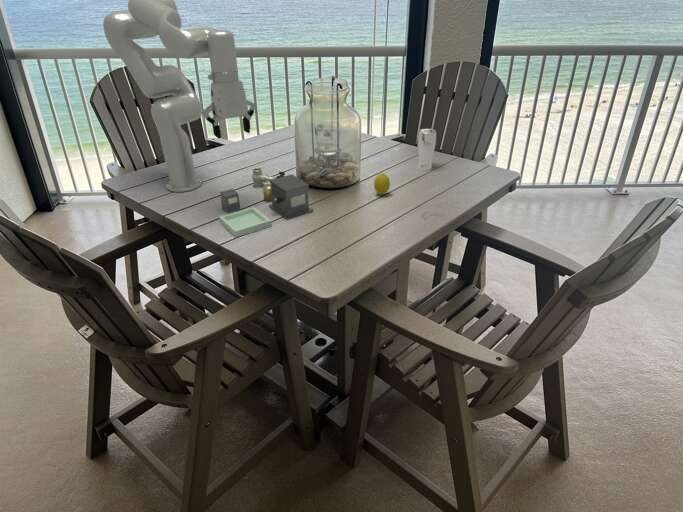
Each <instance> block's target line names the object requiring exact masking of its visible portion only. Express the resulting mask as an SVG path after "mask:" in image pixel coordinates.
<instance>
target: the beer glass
mask: <svg viewBox="0 0 683 512" xmlns="http://www.w3.org/2000/svg"><path fill="white" fill-rule="evenodd" d="M436 144H437V130H436V129H432V128H421V129H419V131H418V137H417V155H418V158H417V159H418V161H417V165H416V169H418V170H420V171H430V170H432V168H433V165H432V164H433V163H432V162H433V161H432V159H433V155H434V152H435V147H436Z"/></svg>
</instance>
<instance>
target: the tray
mask: <svg viewBox="0 0 683 512" xmlns="http://www.w3.org/2000/svg"><path fill="white" fill-rule="evenodd" d="M218 218H219V222H220V224H221V225H222V226H223V227H224V228H225V229H227V230H228V231H229V232H230V233H231V235H233V237H235V238H239V237H242V236H244V235H248V234H251V233H254V232H258V231H261V230H264V229H267V228H271V227H272V226H273V225H272V220H271V219H270V218H268V216H266V215H265V214H263V213H262V212H261V211H260V210H259V209H257V208H256V207H254V206H253V207H248V208H245V209H242V210H238V211H234V212H231V213H227V214H225V215H220V216H219V217H218Z"/></svg>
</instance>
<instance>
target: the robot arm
mask: <svg viewBox="0 0 683 512" xmlns="http://www.w3.org/2000/svg"><path fill="white" fill-rule="evenodd" d="M127 9H128V10H118V11H117V10H116V11H114V12H110V13H108V14H107V15H106V16H104V19H103V23H102V27H103V28H102V29H103V31H104V35H105V38H106V40H107V42H108V44H109V46H110V48H111V49H112V50H113V52H115V54H116V55H117V56H118V58H119V59H120V60H121V62H123V64H124V65H125V66H126V68H127V70H128V71H129V73H130V75H131V76H132V78H133V80H134V81H135V82H136V84H137V86H138V88H139V89H140V91H141V92H142V94H144V96H145V97H147V98H149V99H158V100H156V101H154V102H153V103H152V105H151V107H150V108H151V109H150V114H151V117H152V119H153V122H154V124H155V126H156V127H155V128H156V129H157V132H158V136H159V140H160V145H161V149H162V152H163V153H162V154H163V157H164V161H165V163H164V164H165V166H166V167H165V168H166V171H167V175H168V180H169V181H168V182H166V185H165V186H166V187H165V188H166V189H167V190H168V191H171V192H174V193H183V192H184V193H185V192H190V191H193V190H196V189H198V188H199V187H201V185H202V184H203V183H202V179H200V178H199V177H197V176H196V170H195V163H194V158H193V152H192V147H191V141H190V138H189V136H188V134H187V133H186V131H185V130H184V129H183V128H182V125H184V124H187V123H191V122H195V121H197V120H199V119H200V118H201V117H202V116H203V117H204V119H205V120H206V121H208V123H210V124H211V126H212V131H213V135H214V136H215V137H216V139H220V140H221V139H222V133H221V125H219V124H220V121H221V120H227V119H233V118H238V117H243V118H242V119H241V120H242V127H243V132H245V133H247V134H250V133H251V119H252V117H253V115H254V114H255V109H256V107H257V104H256V103H254V102H252V101H250V100H248V99H247V95H246V91H245V87H244V84H243V81H242V80H240V78H239V70H238V59H237V53H236V43H235V41H236V40H235V35H234V34H233V31H231V30H227V29H217V28H214V27H210V26H209V27H208V26H206V27H195V28H194V27H193V28H185V29H182V28H181V27H182V18H181V15H180V13H179V12H178V8H177V5H176V2H175V0H129V1H128V3H127ZM157 36H159V39H160V42H161V43H162V45H163V46H164V47H165V49H167V51H169V52H171V53H172V54H174V55H175V56H176V55H177V56H178V57H180V58H182V59H188V60H190V59H195V58H203V57H209V63H210V69H211V71H210V74H207V79H208V81H210V80H211V83H210V103H211V104H209V105H208V106H207V107H205V108H204V109H203V107H202V104H201V101H200V99H199V97H198V95H197V94H196V93H195V92H196V91H194V88H192V85H191V84H190V82H189V80H188V78H187V77H186V75H185V74H184V73H183V71H182V70H181V69H180V68H178V67H177V66H176V65H172V64H166V65H161V66H159V65H157V64H156V63H155V62H154V60H153V59H152V57H151V55H150V54H149V52H148V51H146V49H145V48H143V47H142V46H141V45H139V44H137V43H136V42H134V40H142V39H143V40H144V39H149V38H155V37H157ZM166 96H167V97H166ZM159 98H160V99H159ZM211 112H212V115H213V116H212V117H211V116H210V115H209V114H210V113H211Z"/></svg>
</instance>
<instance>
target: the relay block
mask: <svg viewBox="0 0 683 512" xmlns="http://www.w3.org/2000/svg"><path fill="white" fill-rule="evenodd" d="M219 195H220V200H221V206H222V210H224V211H225V212H226V213H227V214H231V213H234V212H238V211H241V202H240V194H239V193H238V191H236V190H235V188H234V189H233V188H230V189H227V190H223V191H219Z"/></svg>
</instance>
